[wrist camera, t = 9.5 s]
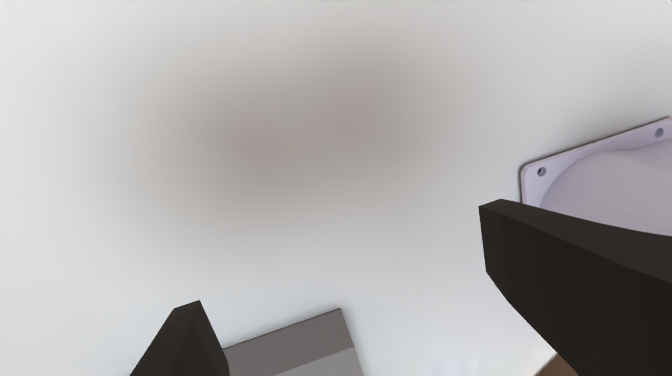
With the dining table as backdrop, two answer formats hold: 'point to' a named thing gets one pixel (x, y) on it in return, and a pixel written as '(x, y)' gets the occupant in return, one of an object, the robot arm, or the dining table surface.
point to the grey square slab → (298, 351)
